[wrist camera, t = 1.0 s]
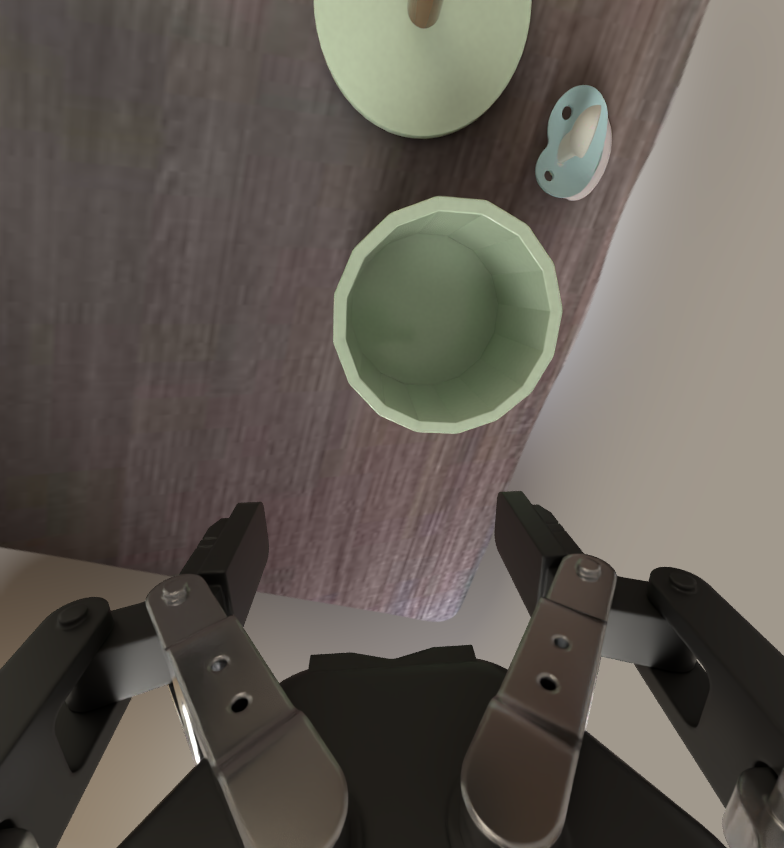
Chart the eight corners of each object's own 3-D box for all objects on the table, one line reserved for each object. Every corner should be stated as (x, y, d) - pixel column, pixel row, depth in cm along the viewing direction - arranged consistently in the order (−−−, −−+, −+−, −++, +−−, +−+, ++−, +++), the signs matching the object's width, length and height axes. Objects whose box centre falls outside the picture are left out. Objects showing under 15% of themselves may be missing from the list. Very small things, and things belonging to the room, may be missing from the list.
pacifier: (619, 113, 32) (550, 92, 32) (678, 76, 27) (595, 48, 26) (587, 213, 35) (522, 196, 34) (635, 199, 29) (557, 178, 28)
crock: (318, 259, 34) (296, 247, 24) (481, 199, 34) (535, 159, 23) (375, 411, 39) (378, 460, 28) (518, 362, 38) (578, 393, 28)
